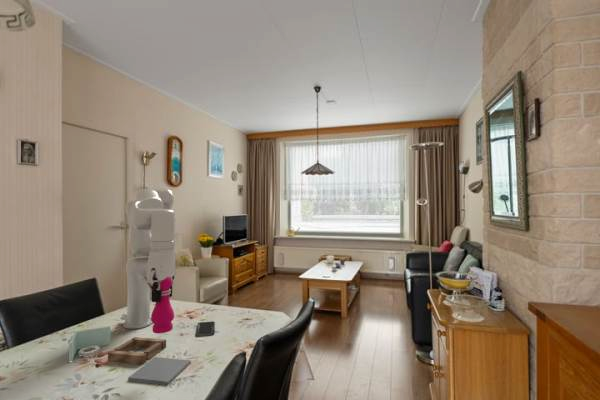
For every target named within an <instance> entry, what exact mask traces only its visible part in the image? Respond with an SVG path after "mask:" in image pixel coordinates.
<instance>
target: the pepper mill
mask: <svg viewBox="0 0 600 400" xmlns="http://www.w3.org/2000/svg"><path fill="white" fill-rule="evenodd" d="M156 280H157V279H156ZM155 283H156V285H158V282H155ZM171 286H172V287H173V285H172V279H171V277H167V278H166V279H165V280H163V281H162V282H161V287H160V290H161V302H155V304H154V308H153V310H152V312H151V315H150V318H151V321H152V324H153V325H152V332H153V334H165V333H169V332H170V331H172V330H173V326H174V325H173V324H174V323H173V322H172V321H174V319H175V311H174V309H173V307H172V304H171V302H170V301H171V300H170V297H169V294H170V293H171V292H170V291H171V289H170V287H171Z"/></svg>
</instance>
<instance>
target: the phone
mask: <svg viewBox="0 0 600 400" xmlns="http://www.w3.org/2000/svg"><path fill="white" fill-rule="evenodd" d="M215 324H216V322H215V321H214V320H213V321H201V322H198V323H197V326H196V331H195V337H196V338H197V337H210V336H214V335H215V330H216V328H215V326H216V325H215Z"/></svg>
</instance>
